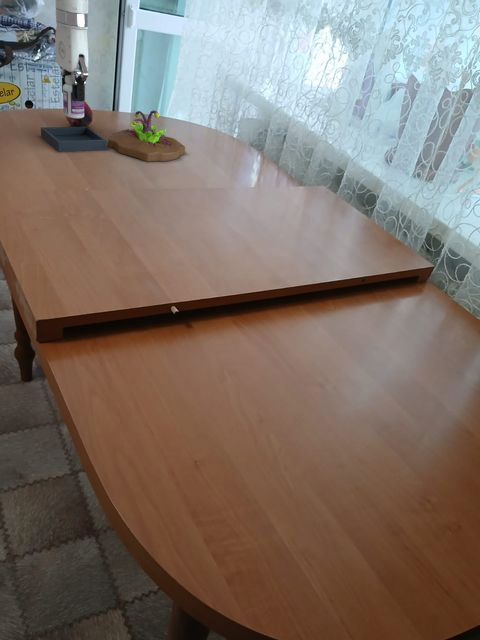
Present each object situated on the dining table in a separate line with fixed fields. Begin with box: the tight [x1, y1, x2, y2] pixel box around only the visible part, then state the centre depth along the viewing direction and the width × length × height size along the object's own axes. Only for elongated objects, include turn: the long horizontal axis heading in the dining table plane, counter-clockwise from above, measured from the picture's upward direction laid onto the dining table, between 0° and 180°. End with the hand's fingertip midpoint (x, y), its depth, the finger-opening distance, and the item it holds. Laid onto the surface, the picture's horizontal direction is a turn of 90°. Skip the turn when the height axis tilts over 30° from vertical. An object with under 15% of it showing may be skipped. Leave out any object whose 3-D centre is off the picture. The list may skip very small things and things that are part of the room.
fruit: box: [65, 100, 93, 127], centre depth 159 cm, size 8×8×8 cm
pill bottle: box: [62, 75, 84, 118], centre depth 144 cm, size 5×5×10 cm
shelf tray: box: [40, 126, 108, 153], centre depth 150 cm, size 14×12×3 cm
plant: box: [107, 110, 186, 162], centre depth 155 cm, size 20×20×11 cm
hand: (73, 96), depth 144 cm, fingers closed on pill bottle, 5 cm apart
